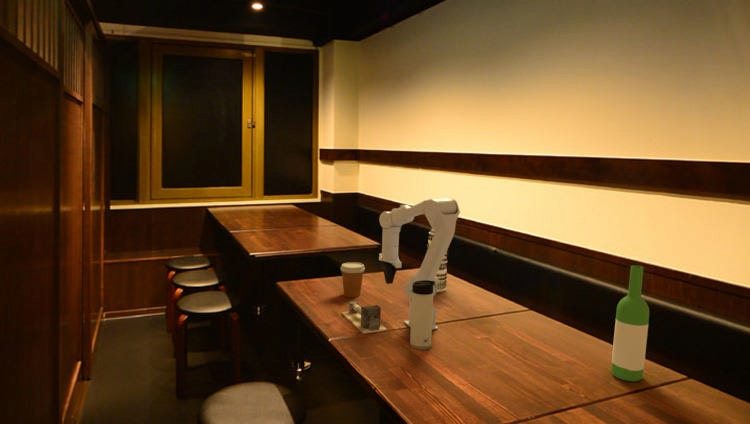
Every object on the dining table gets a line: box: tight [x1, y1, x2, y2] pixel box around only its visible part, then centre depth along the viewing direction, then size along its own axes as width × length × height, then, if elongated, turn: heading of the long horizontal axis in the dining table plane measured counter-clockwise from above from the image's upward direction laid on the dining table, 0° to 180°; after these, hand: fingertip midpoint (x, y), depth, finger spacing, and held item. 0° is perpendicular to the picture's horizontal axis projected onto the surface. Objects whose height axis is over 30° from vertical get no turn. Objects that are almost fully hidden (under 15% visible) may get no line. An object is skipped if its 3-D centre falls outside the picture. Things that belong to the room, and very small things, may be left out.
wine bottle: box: [610, 264, 650, 383], centre depth 139 cm, size 8×8×30 cm
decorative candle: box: [426, 228, 450, 293], centre depth 217 cm, size 9×9×25 cm
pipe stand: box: [341, 300, 387, 334], centre depth 177 cm, size 20×8×4 cm, turn 23°
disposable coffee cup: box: [340, 262, 366, 298], centre depth 207 cm, size 10×10×12 cm
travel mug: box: [409, 280, 435, 351], centre depth 157 cm, size 6×7×20 cm
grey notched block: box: [360, 304, 382, 328], centre depth 171 cm, size 3×6×6 cm, turn 113°
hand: (389, 283), depth 187 cm, fingers closed
